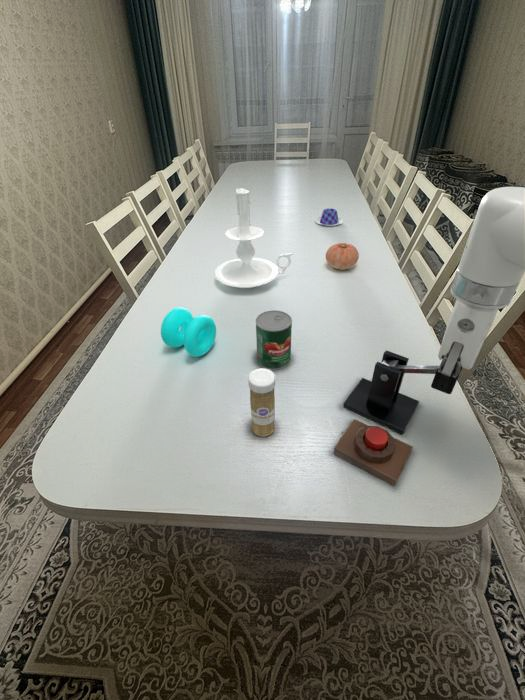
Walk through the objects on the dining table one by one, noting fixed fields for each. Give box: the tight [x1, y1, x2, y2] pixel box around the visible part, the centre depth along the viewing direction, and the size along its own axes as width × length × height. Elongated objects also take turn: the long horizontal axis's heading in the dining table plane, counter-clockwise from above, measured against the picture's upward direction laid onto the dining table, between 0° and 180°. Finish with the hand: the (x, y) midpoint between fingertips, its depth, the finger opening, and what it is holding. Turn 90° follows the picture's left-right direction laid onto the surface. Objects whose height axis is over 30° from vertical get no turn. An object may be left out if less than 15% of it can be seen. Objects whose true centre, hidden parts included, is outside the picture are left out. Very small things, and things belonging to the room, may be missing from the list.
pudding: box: [314, 208, 344, 227], centre depth 154 cm, size 12×12×5 cm
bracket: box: [343, 349, 420, 435], centre depth 68 cm, size 12×9×12 cm
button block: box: [333, 418, 413, 487], centre depth 62 cm, size 11×8×4 cm
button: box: [364, 427, 388, 451], centre depth 61 cm, size 4×4×2 cm
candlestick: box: [213, 187, 293, 289], centre depth 107 cm, size 21×25×28 cm
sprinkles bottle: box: [248, 367, 276, 438], centre depth 64 cm, size 5×5×14 cm
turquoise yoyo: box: [160, 306, 217, 358], centre depth 85 cm, size 10×10×10 cm
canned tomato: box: [255, 310, 293, 371], centre depth 81 cm, size 8×8×11 cm
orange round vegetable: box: [325, 242, 360, 271], centre depth 119 cm, size 11×11×8 cm
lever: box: [381, 360, 461, 376], centre depth 62 cm, size 13×3×3 cm, turn 54°
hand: (444, 382), depth 60 cm, fingers closed on lever, 3 cm apart
